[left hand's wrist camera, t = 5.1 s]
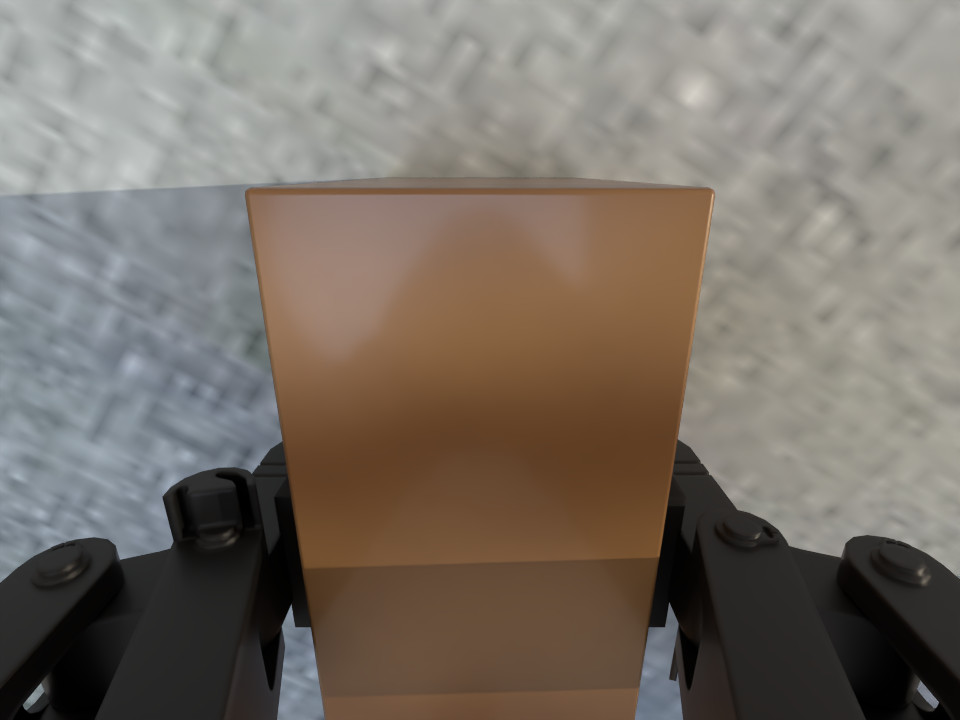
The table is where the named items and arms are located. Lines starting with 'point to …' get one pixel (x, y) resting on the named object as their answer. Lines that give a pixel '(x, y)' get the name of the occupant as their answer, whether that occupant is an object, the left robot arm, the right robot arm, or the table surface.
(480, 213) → the post
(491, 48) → the table surface
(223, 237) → the table surface
